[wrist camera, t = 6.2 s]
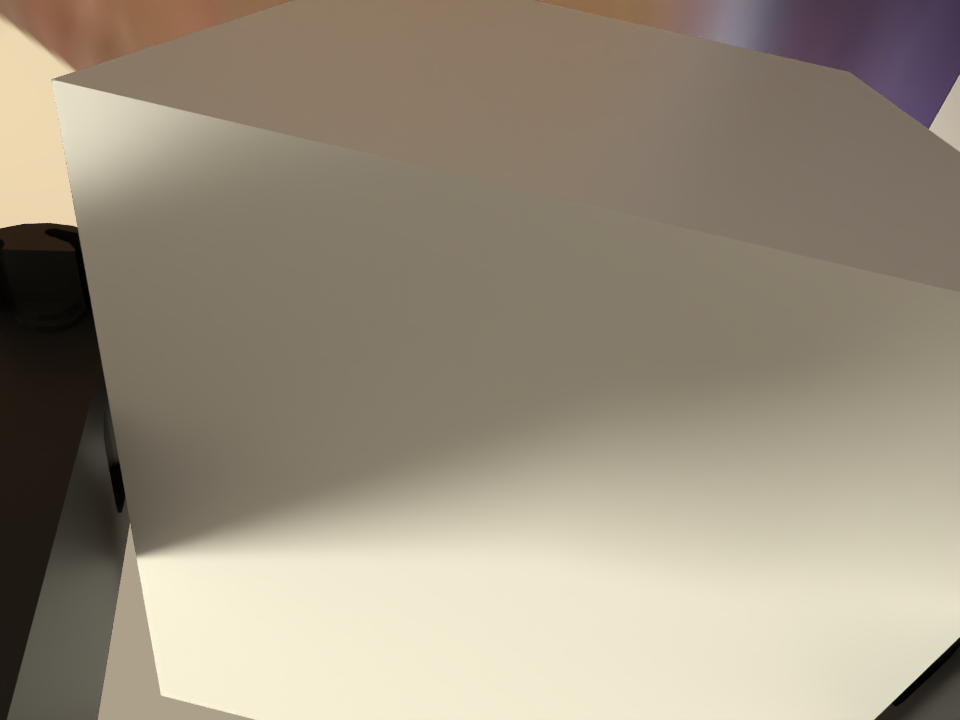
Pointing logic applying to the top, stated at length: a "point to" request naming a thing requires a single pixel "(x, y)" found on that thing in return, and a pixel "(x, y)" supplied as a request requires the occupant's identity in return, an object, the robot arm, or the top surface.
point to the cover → (522, 366)
